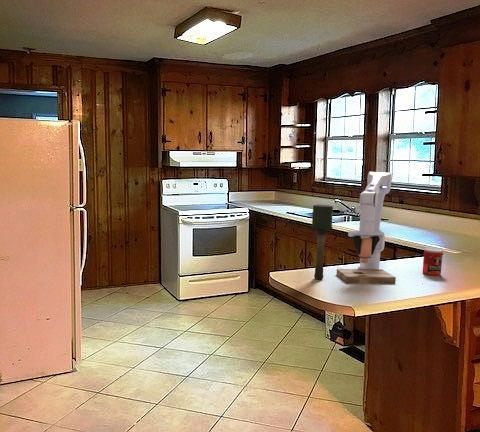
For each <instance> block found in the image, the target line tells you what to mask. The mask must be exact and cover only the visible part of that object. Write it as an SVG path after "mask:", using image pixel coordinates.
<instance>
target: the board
mask: <svg viewBox="0 0 480 432" xmlns="http://www.w3.org/2000/svg"><path fill="white" fill-rule="evenodd" d="M336 276H337V277H338V278H340V277H341V278H342V280H343V281H344V282H345V283H346V282H347V283H346V284H396V281H397V280H396V279H397V277H396V276H394V275H392V274H391V273H389V272H388V271H386V270H384V269H381V268H379V269H359V268H336ZM341 278H340V279H341Z"/></svg>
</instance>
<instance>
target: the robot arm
mask: <svg viewBox="0 0 480 432" xmlns="http://www.w3.org/2000/svg"><path fill="white" fill-rule="evenodd" d="M392 176H393V175H392V172H381V171H379V172H378V171H377V172H376V171H369V172H368V173H367V178H366V179H367V181H366V182H367V185H366V187H365V189H364V191H362V192H361V193H360V195H359V210H360V214H359V215H360V216H359V228H358V229H359V230H353V231H351V230H350V231H349V230H348V232H347V234H348V235H347V236H348V237H350V238H352V240H353V243H354V247H355V251H356V255H360V247H361V241H362V239H361V237H367V238H372V251H371V258H368V263H361V258H360V259H359V263H360V264H359V266H357V269H380V262H381V259H380V258H381V252H382V251H384V249H385V243H386V236H385V232H384V231H382V230H381V220H382V212H383V206H384V200H385V196H386V195H387V194H389V193H390V191H391V186H392Z"/></svg>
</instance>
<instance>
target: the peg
mask: <svg viewBox="0 0 480 432" xmlns="http://www.w3.org/2000/svg"><path fill="white" fill-rule="evenodd" d="M361 239H362V241H361V247H360V255H358V254H357V255H358V258H360V259H361V263H368V258H371V251H372V238H367V237H361Z"/></svg>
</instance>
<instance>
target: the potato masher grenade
mask: <svg viewBox="0 0 480 432" xmlns="http://www.w3.org/2000/svg"><path fill="white" fill-rule="evenodd" d="M333 211H334V206H332V205H329V204H314V205H313V207H312V217H311V218H312V221H311V225H310V228H312V229H316V234H317V236H316V245H317V246H316V248H317V249H316V262H315V263H316V265H315V269H314V273H313V274H314V276H313V277H314V279H315V280H318V281H321V280H323V279H324V254H325V253H324V252H325V243H326V233H327V230H333V228H334V227H333Z"/></svg>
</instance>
